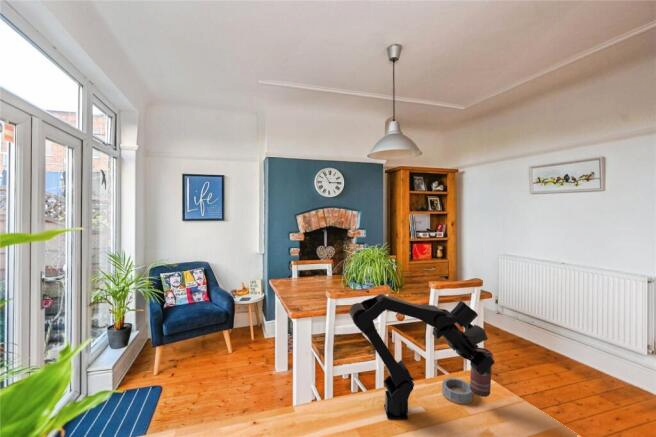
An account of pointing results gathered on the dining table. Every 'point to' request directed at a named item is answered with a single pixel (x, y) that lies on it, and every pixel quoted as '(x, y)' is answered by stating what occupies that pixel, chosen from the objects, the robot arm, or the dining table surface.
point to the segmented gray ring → (457, 391)
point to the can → (480, 379)
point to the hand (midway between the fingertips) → (484, 368)
